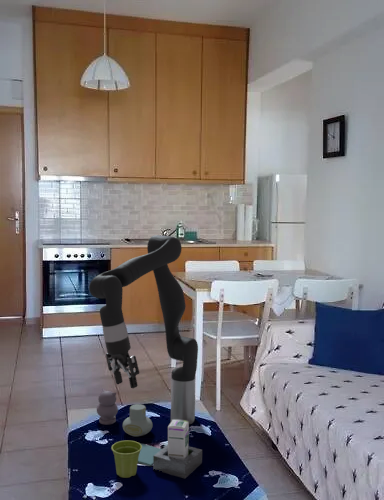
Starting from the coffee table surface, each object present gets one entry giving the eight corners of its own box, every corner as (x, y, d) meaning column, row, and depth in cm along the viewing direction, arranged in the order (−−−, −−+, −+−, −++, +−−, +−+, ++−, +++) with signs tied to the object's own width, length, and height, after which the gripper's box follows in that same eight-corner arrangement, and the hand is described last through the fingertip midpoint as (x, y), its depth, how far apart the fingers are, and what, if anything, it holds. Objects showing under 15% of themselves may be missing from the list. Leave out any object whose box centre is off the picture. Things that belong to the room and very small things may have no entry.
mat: (141, 445, 189) (141, 443, 189) (168, 452, 184) (168, 450, 184) (122, 458, 179) (122, 456, 179) (150, 466, 174) (150, 464, 174)
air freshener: (119, 435, 196) (119, 409, 195) (128, 426, 204) (128, 401, 203) (147, 440, 193) (147, 413, 192) (155, 430, 201) (155, 404, 200)
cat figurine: (92, 421, 208) (92, 391, 207) (106, 415, 214) (106, 385, 213) (108, 427, 203) (108, 396, 202) (122, 420, 210) (122, 390, 208)
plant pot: (114, 465, 174) (114, 439, 174) (143, 466, 174) (143, 440, 173) (108, 480, 165) (109, 453, 164) (139, 481, 165) (139, 454, 164)
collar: (171, 454, 183) (171, 441, 182) (202, 462, 177) (202, 449, 177) (153, 469, 172) (153, 455, 172) (185, 478, 167) (185, 464, 167)
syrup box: (185, 471, 171) (185, 427, 170) (166, 469, 173) (167, 425, 171) (188, 463, 177) (189, 420, 176) (171, 460, 178) (171, 418, 177)
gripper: (138, 335, 168) (149, 384, 170) (113, 331, 179) (123, 377, 181) (119, 343, 163) (129, 393, 165) (94, 338, 174) (105, 386, 176)
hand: (126, 385), depth 173 cm, fingers open, 8 cm apart
